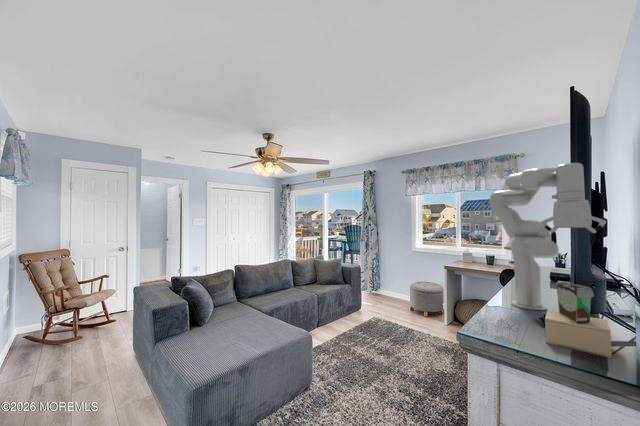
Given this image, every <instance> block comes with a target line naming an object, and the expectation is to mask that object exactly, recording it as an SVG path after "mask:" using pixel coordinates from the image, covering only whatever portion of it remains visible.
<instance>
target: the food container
mask: <svg viewBox="0 0 640 426" xmlns="http://www.w3.org/2000/svg"><path fill="white" fill-rule="evenodd" d="M555 283H556V284H555V289H556V293H557V294H556V295H557V305H558V312H559V313H560V314H561V315H563V316H565V317H567V318H568V319H570V320H572V321H573V322H575V323H579V324H585V323H589V322H590V317H591V307H592V306H591V305H592V298H594V297H595V295H594V292H593V291H594V290H592V288H591V287H589V286H586V285H582V284H576V283H572V282H571V283H570V282H559V281H556V282H555Z"/></svg>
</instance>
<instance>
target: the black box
mask: <svg viewBox="0 0 640 426" xmlns="http://www.w3.org/2000/svg"><path fill="white" fill-rule="evenodd" d="M546 314H547V311H540V319H538V318H537V319H534V320H535V321H536V323H537V324H538V325H540V327H541V328H544V329H545V317H546Z"/></svg>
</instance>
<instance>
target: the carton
mask: <svg viewBox="0 0 640 426" xmlns="http://www.w3.org/2000/svg"><path fill="white" fill-rule="evenodd" d="M544 329H545V344H548V345H552V346H557V347H561V348H565V349H568V350H569V349H570V350H574V351H578V352H583V353H587V354H590V355H595V356H600V357H604V358H608V359H613V354H612V353H613V352H612V337H611V332H607V331H601V330H596V329H590V328H585V327H580V326H574V325H569V324H563V323H558V322H553V321H547V320H545V328H544Z"/></svg>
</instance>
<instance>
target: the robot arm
mask: <svg viewBox="0 0 640 426" xmlns="http://www.w3.org/2000/svg"><path fill="white" fill-rule="evenodd" d="M584 170H585V169H584V165H583V164H582V163H580V162H569V163H562V164H559V165H558V166H556V167H541V168H540V167H537V168H530V169H526V170H523V171H522V172H517V173H512V174H510V175H508V176H507V177H506V178H505V181H504V185H505V187H506V188H507V189H506V190H505V189H504V190H501V189H500V190H497V191H494V192H493V193H491V194H490V197H489V206H490V209H491V211H492V212H493V214H494V215H495V216H496V217H497V218H498V220H499V221H500V223H501V226H503V227H502V228H504V231H505V233H506V234H507V236H508V237H509V239H512V241H511V242H510V250H511V254H512V257H513V266H514V267H513V268H514V269H513V271H514V290H515V292H514V293H515V294H514V295H515V296H514V297H515V299H514V300H511V305H513V306H514V307H517V308H520V309H526V310H532V311H533V310H534V311H545V310H547V305H545V304H543V302H542V282H541V281H542V279H541V268H540V265H539V263H538V262H537V261H536V260H535V259H551V258H555V257H556V256H558V254H559V245H558V242H557V232H556V231H557V230H558V229H559V228H561V229H565V228H566V229H567V228H568V229H571V228H573V229H575V228H576V229H581V228H585V229H586V230H588V231H589V233H588V234H589V245H591V246H592V245H594V243H597V242H596V241H597V240H596V239H597V238H596V233H598V232H599V231H601V230H602V229H603V228H604V226H605V224H606V223H607V220H605V219H603V218H599V217H596V216H593V215H592V213H591V212H592V211H591V207H590V206H591V205H590V202H589V200H588V199H586V193H585V190H586V189H585V174H584V172H585V171H584ZM551 187H552V188H556V193H555V194H553V195H551V199H553V200H554V199H555V201H554V203H553V209H552V211H553V212H552V216H550V217H548V218H546V219H544V220H541V221H538V220H534V219H533V220H531V219H530V220H529V219H527V220H525V219H522V217H521V216H520V214H519V213H518V212H517V211H516V210H515V209H513V208H511V207H526V206H527V205H529V204H530V203H531V201H533V199H534V198H535V196H536V194H537V193H538V192H539V191H540V189H541V188H551ZM593 221H594V222H597V223H599V224H598V225H597V226H596V227H595V228H594V227H592V226H593V225H592V224H593ZM550 222H552V224H553V227H550V226H549V225H548V223H550Z"/></svg>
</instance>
